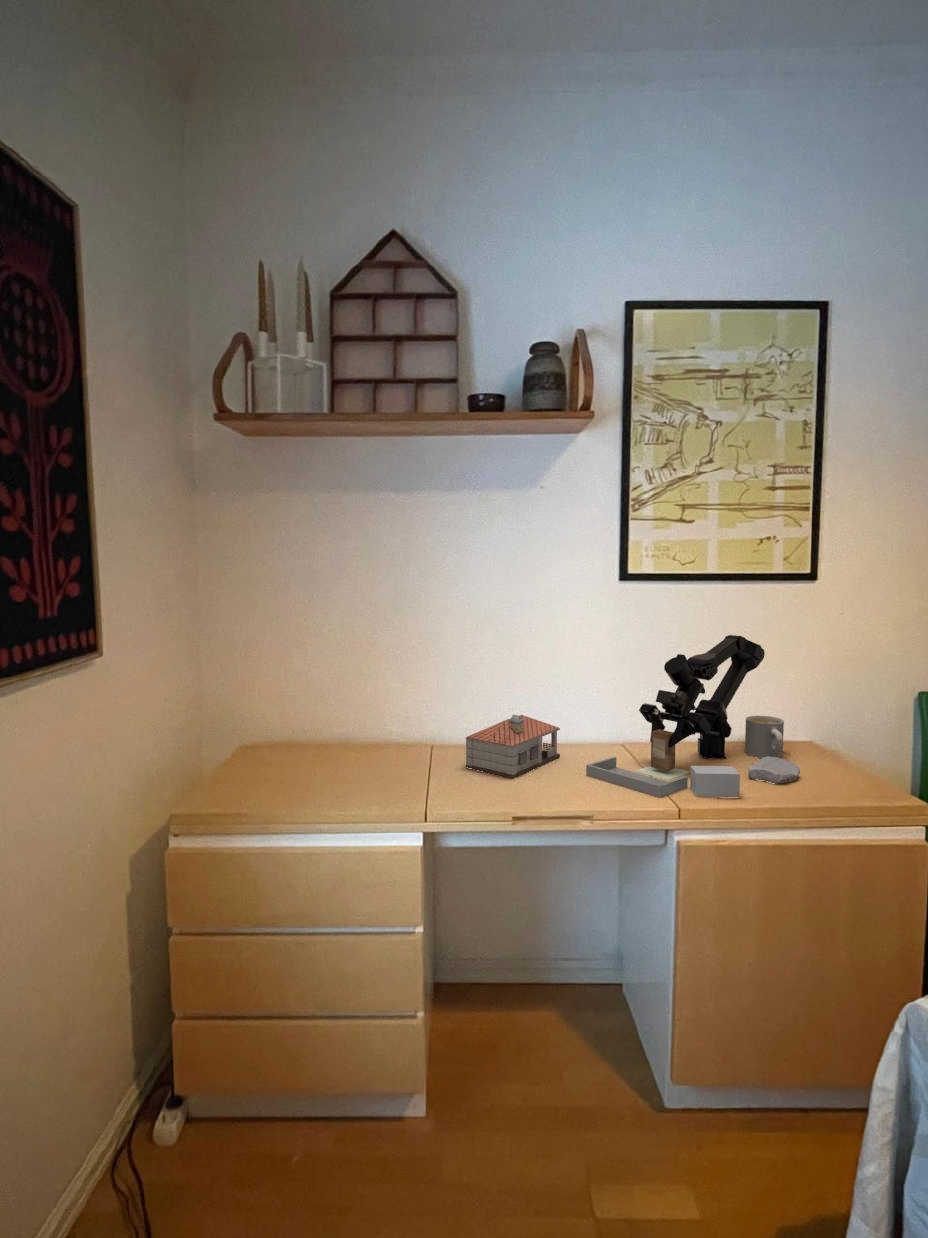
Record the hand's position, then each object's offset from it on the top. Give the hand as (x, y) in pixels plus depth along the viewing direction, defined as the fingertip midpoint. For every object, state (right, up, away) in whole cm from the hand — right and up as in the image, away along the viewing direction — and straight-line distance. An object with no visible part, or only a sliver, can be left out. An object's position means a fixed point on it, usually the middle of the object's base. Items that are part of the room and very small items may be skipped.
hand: (660, 744), depth 187 cm
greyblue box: (+9, -9, -15) cm, 20 cm away
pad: (+1, -8, +2) cm, 8 cm away
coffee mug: (+34, -6, +16) cm, 38 cm away
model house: (-37, -8, +12) cm, 40 cm away
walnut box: (+1, -6, +2) cm, 7 cm away
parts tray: (-8, -8, -6) cm, 13 cm away
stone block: (+29, -8, -3) cm, 30 cm away
